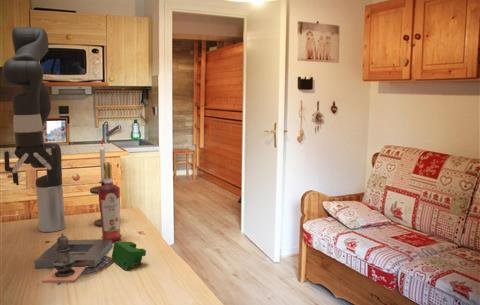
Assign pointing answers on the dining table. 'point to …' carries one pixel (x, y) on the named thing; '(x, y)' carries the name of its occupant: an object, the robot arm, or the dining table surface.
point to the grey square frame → (92, 247)
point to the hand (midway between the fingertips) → (33, 182)
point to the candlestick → (95, 189)
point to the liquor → (109, 206)
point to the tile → (71, 278)
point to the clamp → (127, 254)
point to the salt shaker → (63, 258)
